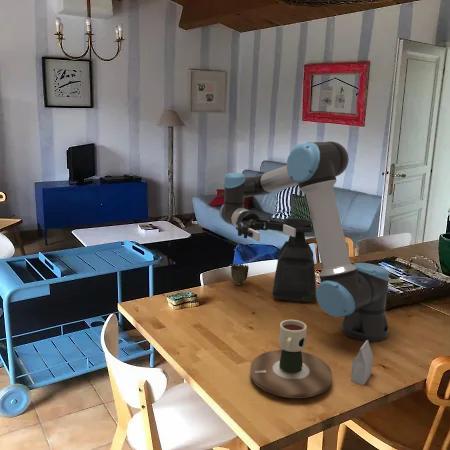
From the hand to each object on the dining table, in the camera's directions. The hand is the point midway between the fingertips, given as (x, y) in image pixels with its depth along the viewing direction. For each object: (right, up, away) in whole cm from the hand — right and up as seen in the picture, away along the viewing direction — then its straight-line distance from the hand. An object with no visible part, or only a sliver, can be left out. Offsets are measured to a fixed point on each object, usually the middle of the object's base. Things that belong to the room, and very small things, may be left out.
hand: (277, 235), depth 158 cm
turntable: (+1, -38, -25) cm, 45 cm away
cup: (-11, -22, +45) cm, 51 cm away
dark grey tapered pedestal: (+10, -25, +35) cm, 44 cm away
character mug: (+1, -36, -25) cm, 44 cm away
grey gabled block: (+21, -39, -22) cm, 50 cm away
